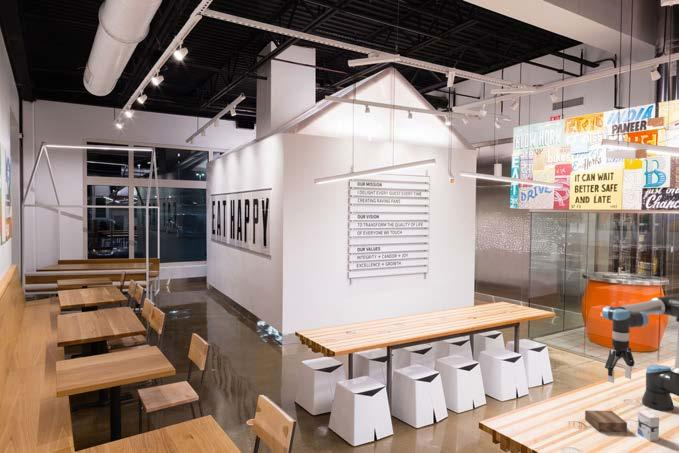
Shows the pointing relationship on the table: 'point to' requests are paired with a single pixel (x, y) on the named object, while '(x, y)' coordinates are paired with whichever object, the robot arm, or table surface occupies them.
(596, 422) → the walnut pedestal
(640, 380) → the table surface
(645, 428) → the ink box
